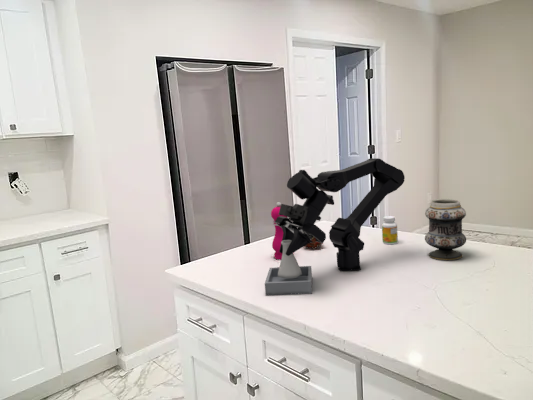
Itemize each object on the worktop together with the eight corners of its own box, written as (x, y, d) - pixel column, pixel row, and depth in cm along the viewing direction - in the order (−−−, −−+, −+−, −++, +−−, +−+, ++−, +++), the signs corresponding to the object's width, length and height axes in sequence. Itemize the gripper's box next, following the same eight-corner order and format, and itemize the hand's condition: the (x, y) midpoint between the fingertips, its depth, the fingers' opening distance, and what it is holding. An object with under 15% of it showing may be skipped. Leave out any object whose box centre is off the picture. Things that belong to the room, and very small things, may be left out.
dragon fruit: (318, 255, 144) (305, 252, 155) (333, 239, 146) (319, 236, 157) (303, 239, 142) (291, 237, 154) (318, 222, 144) (305, 221, 156)
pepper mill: (292, 260, 137) (287, 203, 133) (271, 260, 138) (266, 204, 135) (294, 253, 144) (290, 199, 140) (275, 254, 145) (270, 200, 142)
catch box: (312, 276, 119) (311, 265, 119) (311, 293, 107) (310, 281, 106) (270, 278, 121) (269, 267, 120) (265, 295, 109) (264, 283, 108)
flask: (282, 269, 118) (279, 237, 116) (305, 270, 115) (302, 237, 114) (273, 278, 112) (270, 244, 110) (298, 280, 109) (295, 245, 107)
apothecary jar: (475, 256, 124) (475, 200, 121) (445, 264, 119) (444, 206, 116) (445, 248, 135) (444, 196, 132) (417, 254, 130) (415, 201, 128)
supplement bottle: (379, 242, 148) (378, 217, 147) (392, 239, 150) (391, 214, 148) (388, 245, 143) (387, 219, 142) (400, 243, 145) (399, 217, 143)
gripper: (277, 190, 120) (248, 233, 116) (313, 195, 103) (281, 245, 100) (301, 210, 125) (274, 252, 121) (339, 218, 108) (309, 267, 105)
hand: (283, 253), depth 112 cm, fingers closed on flask, 3 cm apart
